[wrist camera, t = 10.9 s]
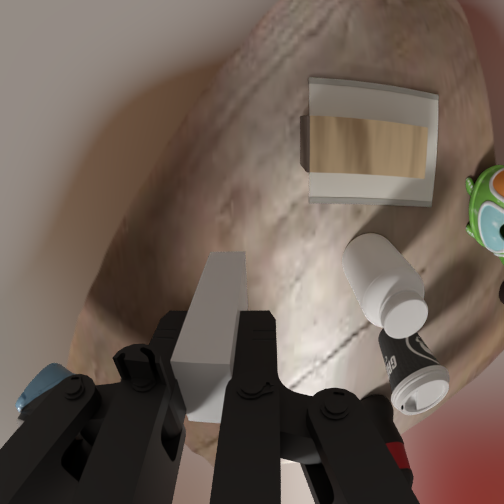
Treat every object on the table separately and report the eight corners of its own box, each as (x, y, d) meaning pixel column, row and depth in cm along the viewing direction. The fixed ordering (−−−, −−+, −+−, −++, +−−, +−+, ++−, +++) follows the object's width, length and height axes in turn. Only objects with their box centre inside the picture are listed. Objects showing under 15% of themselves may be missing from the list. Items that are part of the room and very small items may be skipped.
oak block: (306, 172, 30) (424, 178, 30) (307, 115, 28) (427, 127, 27) (300, 164, 36) (403, 169, 35) (300, 116, 33) (405, 125, 33)
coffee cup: (377, 313, 45) (408, 380, 32) (425, 311, 45) (464, 371, 31) (364, 355, 49) (385, 422, 36) (409, 352, 49) (437, 412, 35)
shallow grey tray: (308, 201, 38) (309, 203, 38) (308, 78, 32) (309, 77, 31) (429, 205, 38) (431, 207, 37) (436, 95, 31) (438, 95, 30)
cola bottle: (344, 412, 57) (364, 535, 29) (367, 388, 53) (399, 521, 26) (373, 416, 58) (399, 529, 30) (396, 394, 54) (433, 513, 27)
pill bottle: (393, 274, 42) (435, 336, 29) (344, 286, 43) (371, 356, 30) (390, 225, 39) (441, 278, 26) (337, 238, 40) (369, 298, 27)
